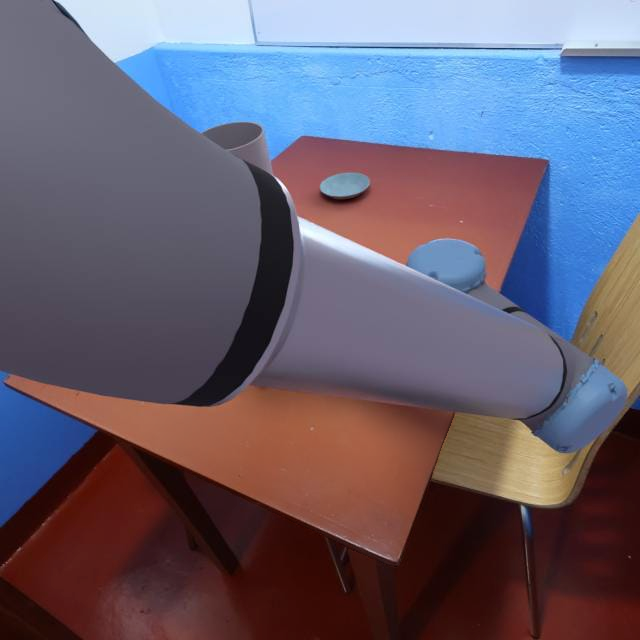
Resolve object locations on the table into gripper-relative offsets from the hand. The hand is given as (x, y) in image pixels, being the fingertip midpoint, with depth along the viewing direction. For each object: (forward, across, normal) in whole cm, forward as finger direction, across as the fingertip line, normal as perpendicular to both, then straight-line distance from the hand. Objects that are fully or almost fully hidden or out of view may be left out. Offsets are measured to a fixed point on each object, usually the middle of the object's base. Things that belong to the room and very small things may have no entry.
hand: (249, 284), depth 71 cm
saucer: (+16, +46, -12) cm, 51 cm away
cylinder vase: (+18, +17, -12) cm, 27 cm away
